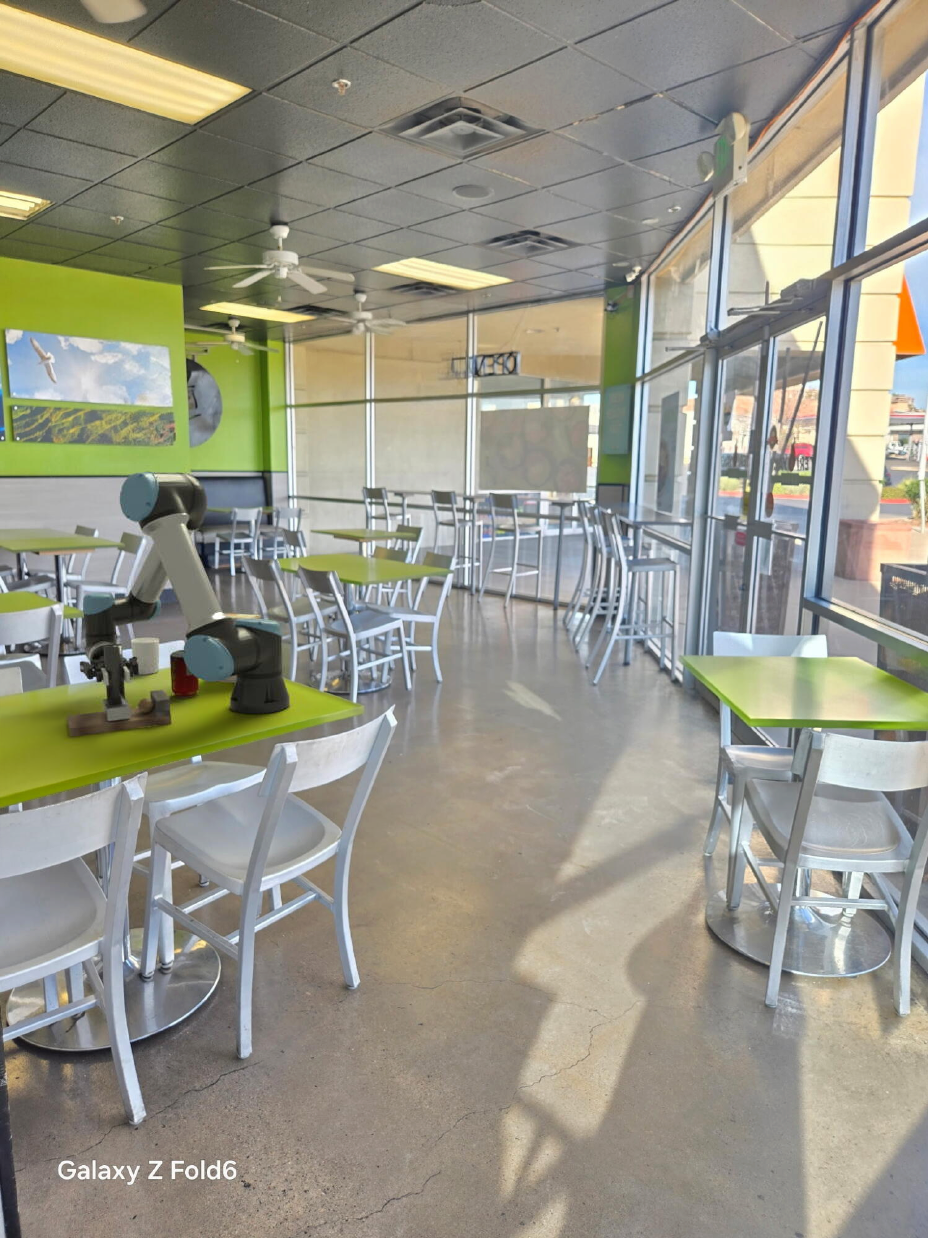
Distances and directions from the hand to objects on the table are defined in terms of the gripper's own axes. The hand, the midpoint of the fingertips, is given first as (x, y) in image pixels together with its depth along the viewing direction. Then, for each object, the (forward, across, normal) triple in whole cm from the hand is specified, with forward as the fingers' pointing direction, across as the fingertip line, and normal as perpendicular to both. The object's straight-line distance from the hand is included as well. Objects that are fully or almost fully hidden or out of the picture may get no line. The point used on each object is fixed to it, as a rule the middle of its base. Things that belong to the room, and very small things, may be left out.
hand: (117, 678), depth 186 cm
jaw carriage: (-5, 0, -10) cm, 12 cm away
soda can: (-25, -20, -13) cm, 34 cm away
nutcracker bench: (-5, 0, -12) cm, 14 cm away
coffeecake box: (-35, -36, -13) cm, 52 cm away
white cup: (-57, -14, -13) cm, 60 cm away
